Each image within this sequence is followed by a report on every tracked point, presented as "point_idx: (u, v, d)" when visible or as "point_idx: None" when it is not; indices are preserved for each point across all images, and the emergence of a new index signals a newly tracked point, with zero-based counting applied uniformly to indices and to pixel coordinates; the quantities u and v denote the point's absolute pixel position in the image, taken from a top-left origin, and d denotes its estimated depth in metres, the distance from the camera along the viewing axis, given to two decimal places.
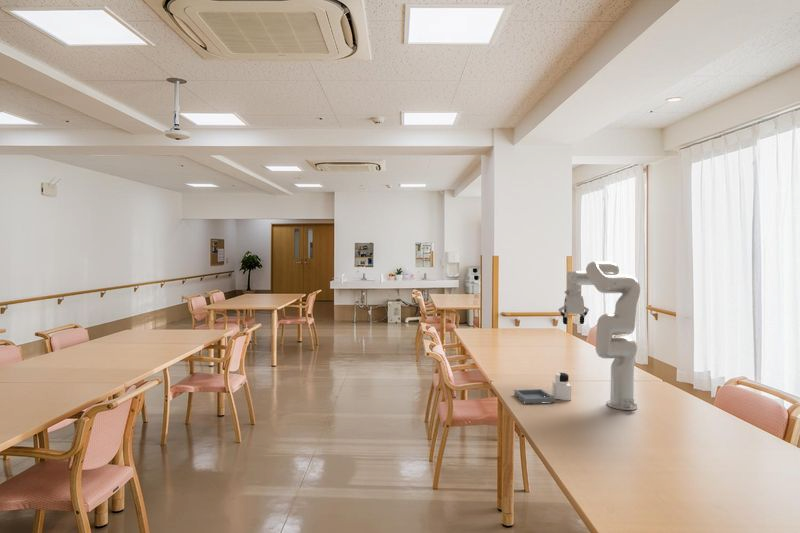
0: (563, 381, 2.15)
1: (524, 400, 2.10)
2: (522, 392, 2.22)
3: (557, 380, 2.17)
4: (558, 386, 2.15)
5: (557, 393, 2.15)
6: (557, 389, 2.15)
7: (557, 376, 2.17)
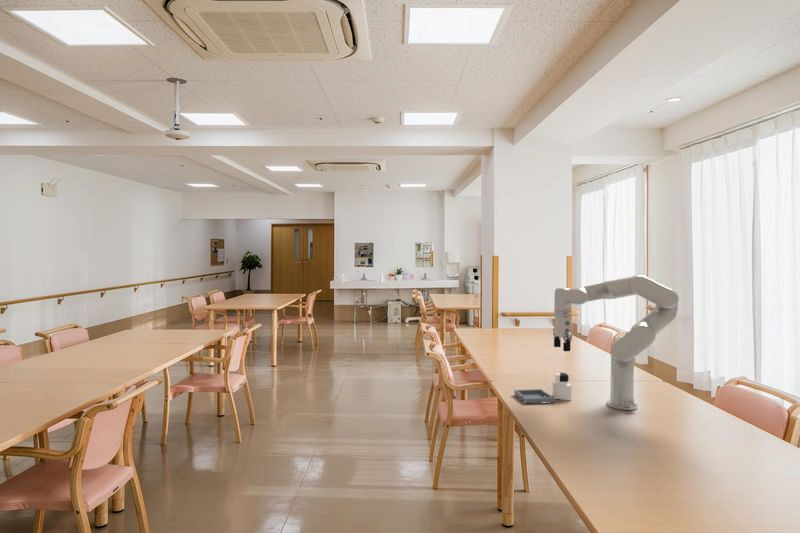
0: (563, 381, 2.15)
1: (524, 400, 2.10)
2: (522, 392, 2.22)
3: (557, 380, 2.17)
4: (558, 386, 2.15)
5: (557, 393, 2.15)
6: (557, 389, 2.15)
7: (557, 376, 2.17)
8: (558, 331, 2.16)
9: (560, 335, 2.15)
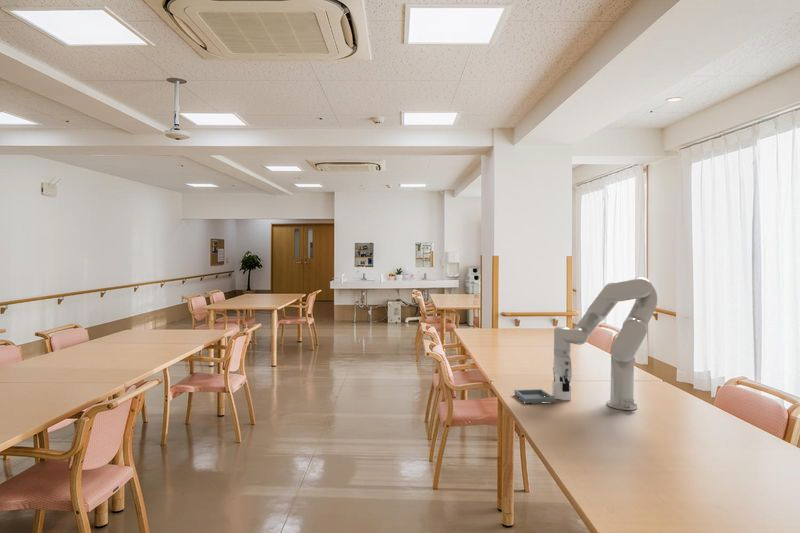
0: None
1: (524, 400, 2.10)
2: (522, 392, 2.22)
3: (557, 380, 2.17)
4: (558, 386, 2.15)
5: (557, 393, 2.15)
6: (557, 389, 2.15)
7: (557, 376, 2.17)
8: (558, 370, 2.17)
9: (560, 375, 2.15)
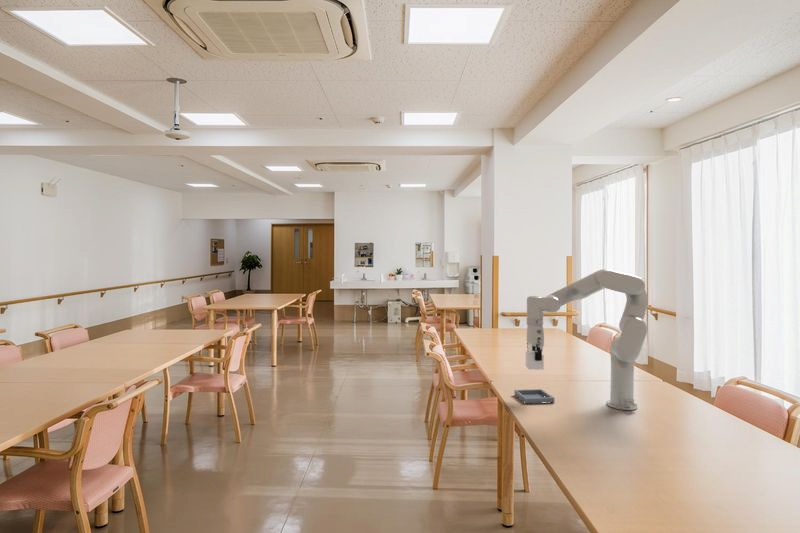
0: (535, 350, 2.13)
1: (524, 400, 2.10)
2: (522, 392, 2.22)
3: (530, 349, 2.15)
4: (530, 355, 2.13)
5: (529, 362, 2.13)
6: (529, 358, 2.13)
7: (530, 345, 2.15)
8: (530, 340, 2.15)
9: (532, 344, 2.13)
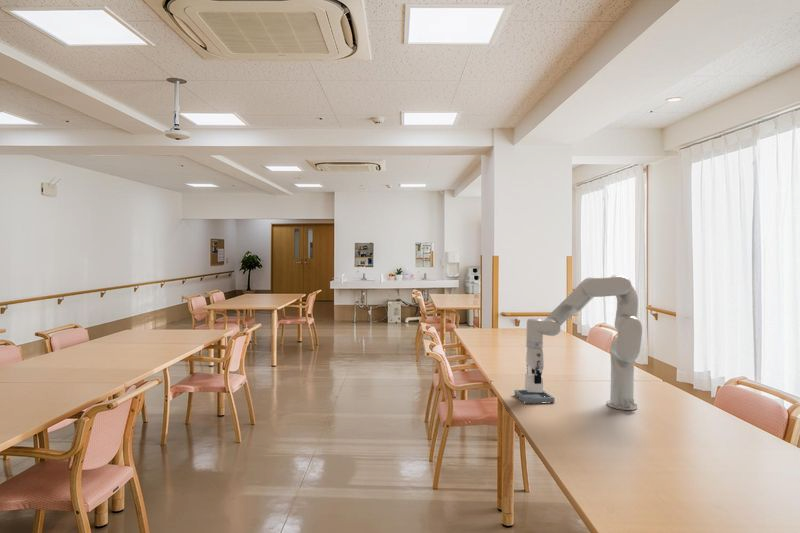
0: None
1: (524, 400, 2.10)
2: (522, 392, 2.22)
3: (529, 372, 2.15)
4: (530, 378, 2.13)
5: (529, 385, 2.13)
6: (529, 381, 2.13)
7: (529, 368, 2.15)
8: (530, 362, 2.15)
9: (532, 367, 2.13)
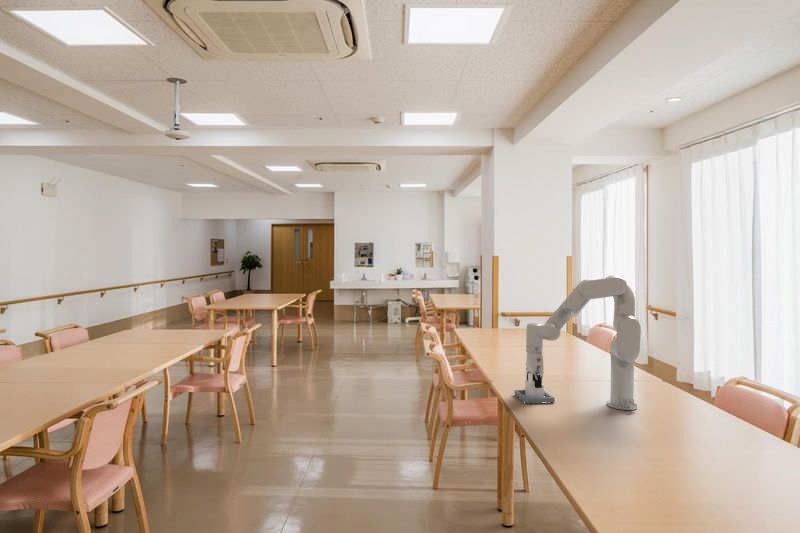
0: None
1: (524, 400, 2.10)
2: (522, 392, 2.22)
3: (530, 379, 2.15)
4: (531, 385, 2.13)
5: (530, 393, 2.13)
6: (530, 388, 2.13)
7: (530, 375, 2.15)
8: (530, 367, 2.15)
9: (532, 371, 2.13)
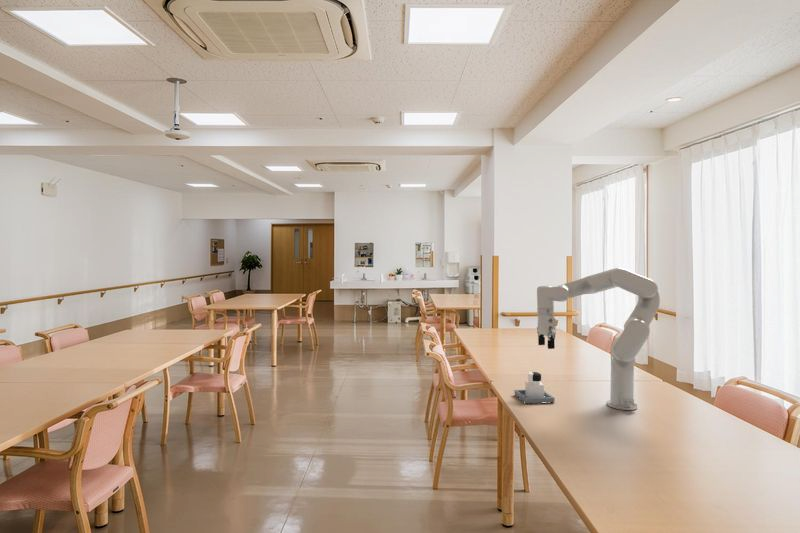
0: (536, 380, 2.13)
1: (524, 400, 2.10)
2: (522, 392, 2.22)
3: (530, 379, 2.15)
4: (531, 386, 2.13)
5: (530, 393, 2.13)
6: (530, 389, 2.13)
7: (530, 375, 2.15)
8: (542, 329, 2.17)
9: (544, 333, 2.16)
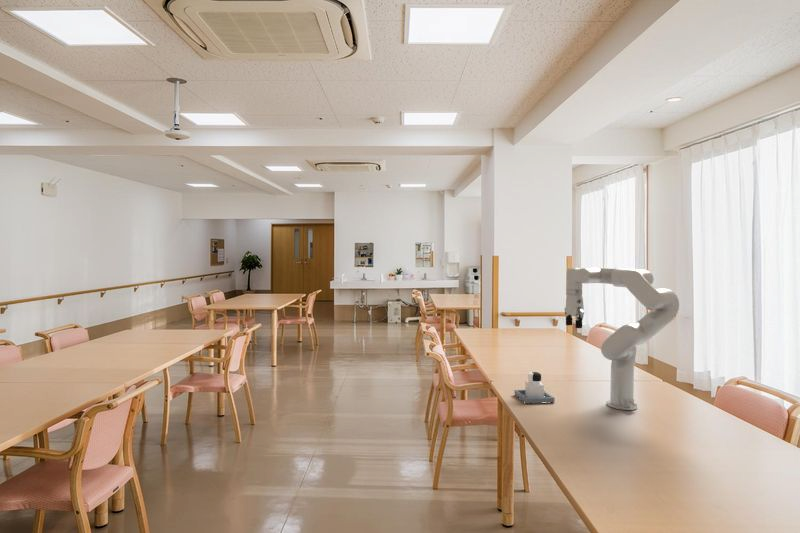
0: (536, 380, 2.13)
1: (524, 400, 2.10)
2: (522, 392, 2.22)
3: (530, 379, 2.15)
4: (531, 386, 2.13)
5: (530, 393, 2.13)
6: (530, 389, 2.13)
7: (530, 375, 2.15)
8: (570, 309, 2.25)
9: (572, 313, 2.24)
